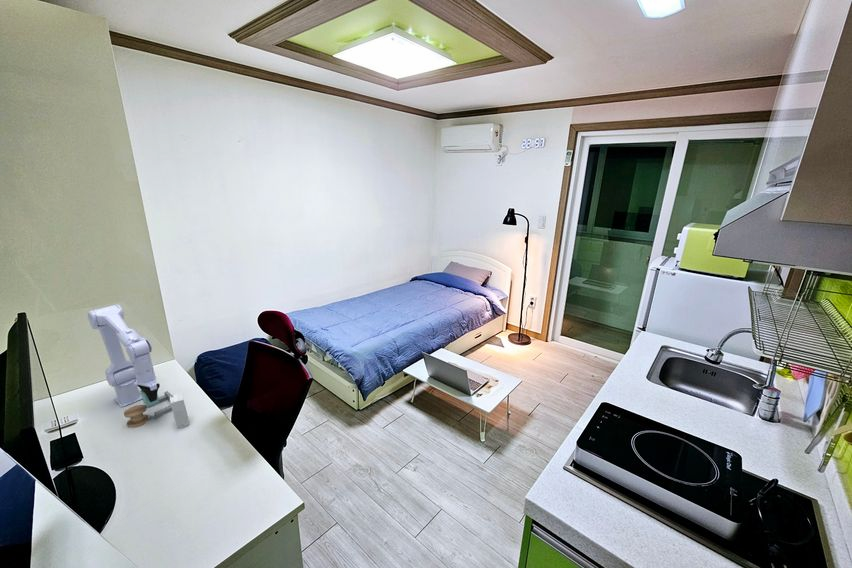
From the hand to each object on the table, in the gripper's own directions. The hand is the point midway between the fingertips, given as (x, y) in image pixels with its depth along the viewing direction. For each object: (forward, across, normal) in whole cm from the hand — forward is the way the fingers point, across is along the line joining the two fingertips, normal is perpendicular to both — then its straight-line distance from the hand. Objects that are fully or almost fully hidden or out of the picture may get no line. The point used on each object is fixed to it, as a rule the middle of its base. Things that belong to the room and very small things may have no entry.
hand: (151, 398), depth 139 cm
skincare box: (+10, +12, +5) cm, 16 cm away
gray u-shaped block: (+9, -6, +4) cm, 12 cm away
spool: (+9, -3, -5) cm, 11 cm away
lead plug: (+2, 0, 0) cm, 2 cm away
